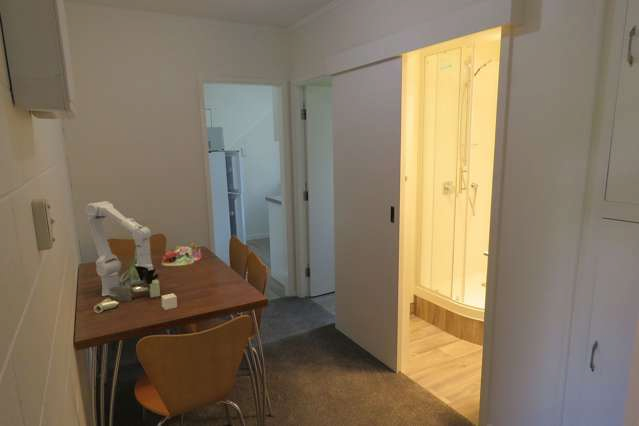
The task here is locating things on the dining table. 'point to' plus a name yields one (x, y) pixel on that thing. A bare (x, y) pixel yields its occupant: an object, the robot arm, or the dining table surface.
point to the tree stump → (131, 275)
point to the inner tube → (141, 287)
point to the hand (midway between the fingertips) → (146, 281)
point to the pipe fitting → (105, 305)
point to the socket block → (154, 288)
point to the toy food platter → (181, 256)
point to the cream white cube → (169, 301)
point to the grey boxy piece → (121, 293)
